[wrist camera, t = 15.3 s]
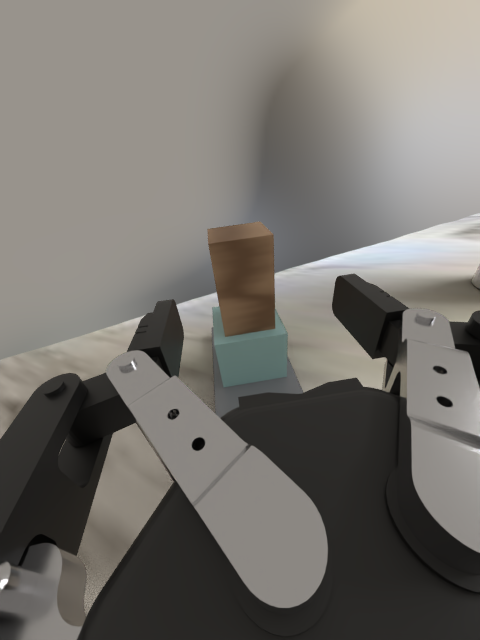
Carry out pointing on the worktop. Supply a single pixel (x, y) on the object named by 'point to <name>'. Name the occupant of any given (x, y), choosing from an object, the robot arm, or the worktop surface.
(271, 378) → the tower base
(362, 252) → the worktop surface
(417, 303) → the worktop surface
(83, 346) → the worktop surface
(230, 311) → the walnut brick
